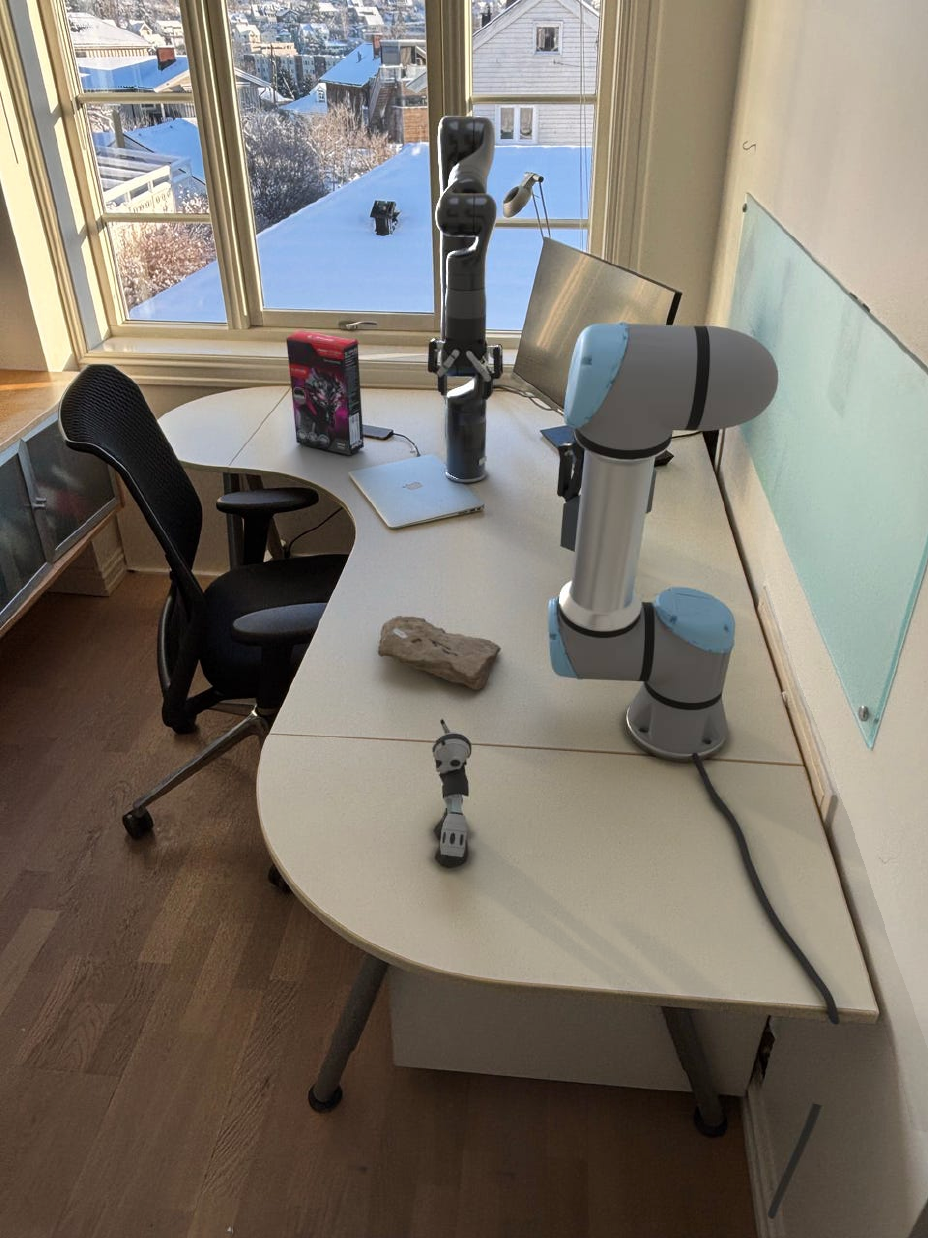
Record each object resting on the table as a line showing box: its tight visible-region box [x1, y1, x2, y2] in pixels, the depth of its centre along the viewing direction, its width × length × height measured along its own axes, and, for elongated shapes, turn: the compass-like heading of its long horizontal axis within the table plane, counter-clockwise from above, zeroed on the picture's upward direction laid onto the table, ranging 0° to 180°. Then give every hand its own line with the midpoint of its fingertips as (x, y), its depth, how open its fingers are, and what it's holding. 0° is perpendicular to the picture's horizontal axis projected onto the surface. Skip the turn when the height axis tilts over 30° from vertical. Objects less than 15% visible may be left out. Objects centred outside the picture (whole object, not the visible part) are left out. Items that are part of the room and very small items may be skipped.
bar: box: [559, 469, 658, 553], centre depth 173 cm, size 23×5×9 cm, turn 138°
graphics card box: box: [285, 330, 365, 456], centre depth 225 cm, size 17×7×27 cm, turn 62°
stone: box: [377, 615, 502, 691], centre depth 155 cm, size 21×15×6 cm
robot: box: [431, 718, 473, 868], centre depth 118 cm, size 20×5×20 cm, turn 3°
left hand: (465, 396), depth 178 cm, fingers open, 8 cm apart
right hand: (584, 538), depth 170 cm, fingers closed on bar, 5 cm apart
